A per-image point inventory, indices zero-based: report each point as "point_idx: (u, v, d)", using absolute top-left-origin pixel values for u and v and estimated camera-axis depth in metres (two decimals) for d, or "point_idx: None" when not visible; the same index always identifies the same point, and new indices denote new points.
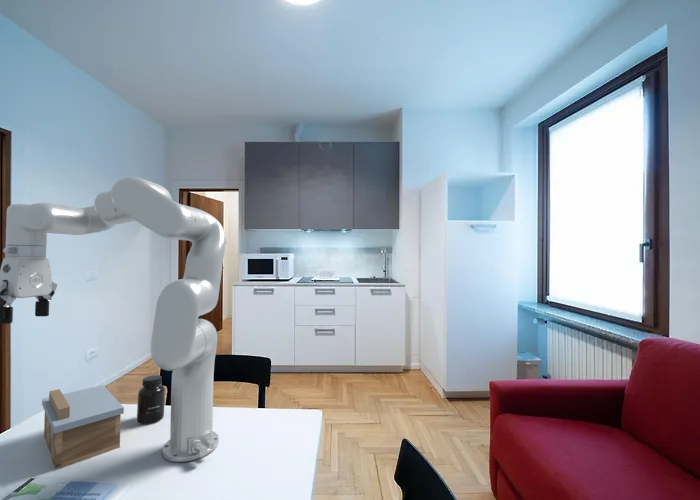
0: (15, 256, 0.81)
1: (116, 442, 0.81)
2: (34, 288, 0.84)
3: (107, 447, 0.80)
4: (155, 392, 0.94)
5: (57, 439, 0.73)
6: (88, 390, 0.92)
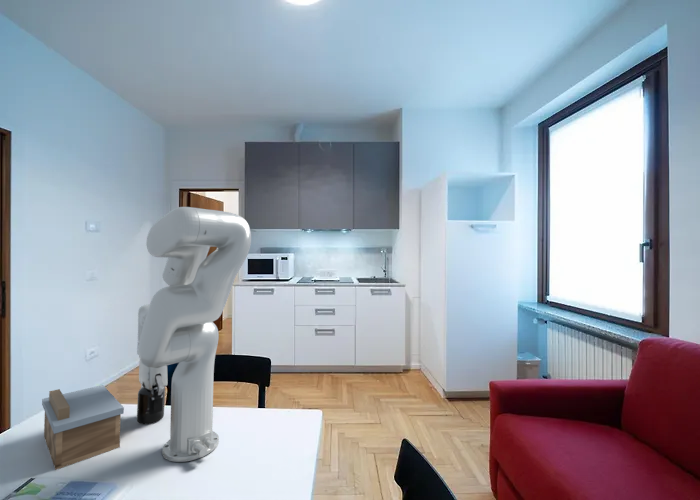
0: None
1: (116, 442, 0.81)
2: None
3: (107, 447, 0.80)
4: None
5: (57, 439, 0.73)
6: (88, 390, 0.92)
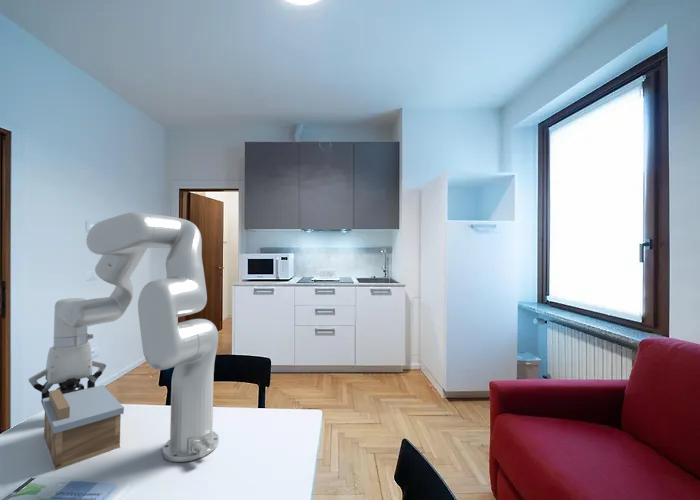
0: None
1: (116, 442, 0.81)
2: None
3: (107, 447, 0.80)
4: (83, 385, 0.99)
5: (57, 439, 0.73)
6: (88, 390, 0.92)
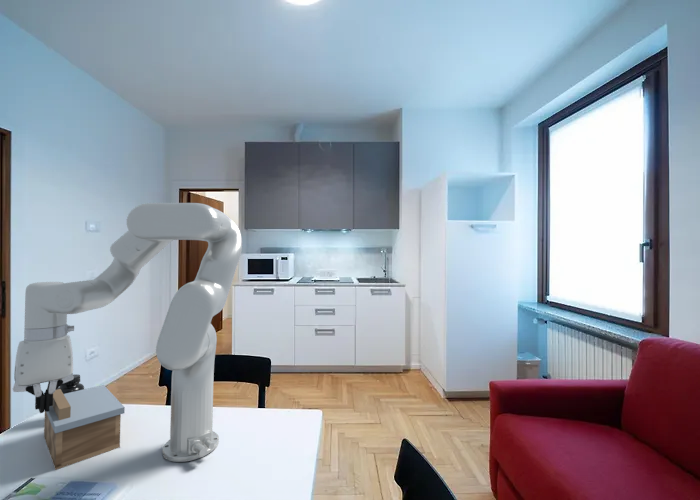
0: None
1: (116, 442, 0.81)
2: None
3: (107, 447, 0.80)
4: None
5: (57, 439, 0.73)
6: (89, 390, 0.92)
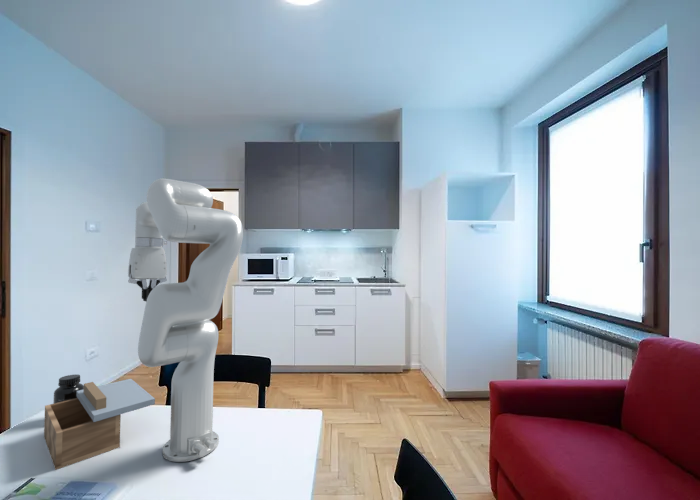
0: None
1: (116, 442, 0.81)
2: None
3: (107, 447, 0.80)
4: None
5: (57, 439, 0.73)
6: (118, 383, 0.97)
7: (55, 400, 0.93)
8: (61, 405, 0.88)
